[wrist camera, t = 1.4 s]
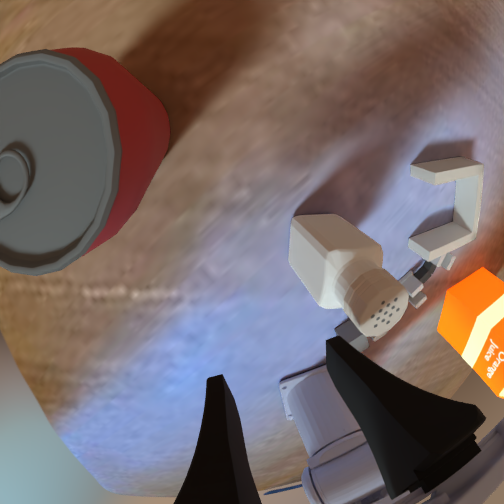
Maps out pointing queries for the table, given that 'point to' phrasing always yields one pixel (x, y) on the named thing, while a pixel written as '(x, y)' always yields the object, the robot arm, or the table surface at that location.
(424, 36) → the table surface
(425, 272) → the cable route
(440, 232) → the end holder
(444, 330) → the orange juice
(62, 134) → the beer can
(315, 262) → the pepper shaker
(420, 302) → the clips
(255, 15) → the table surface
